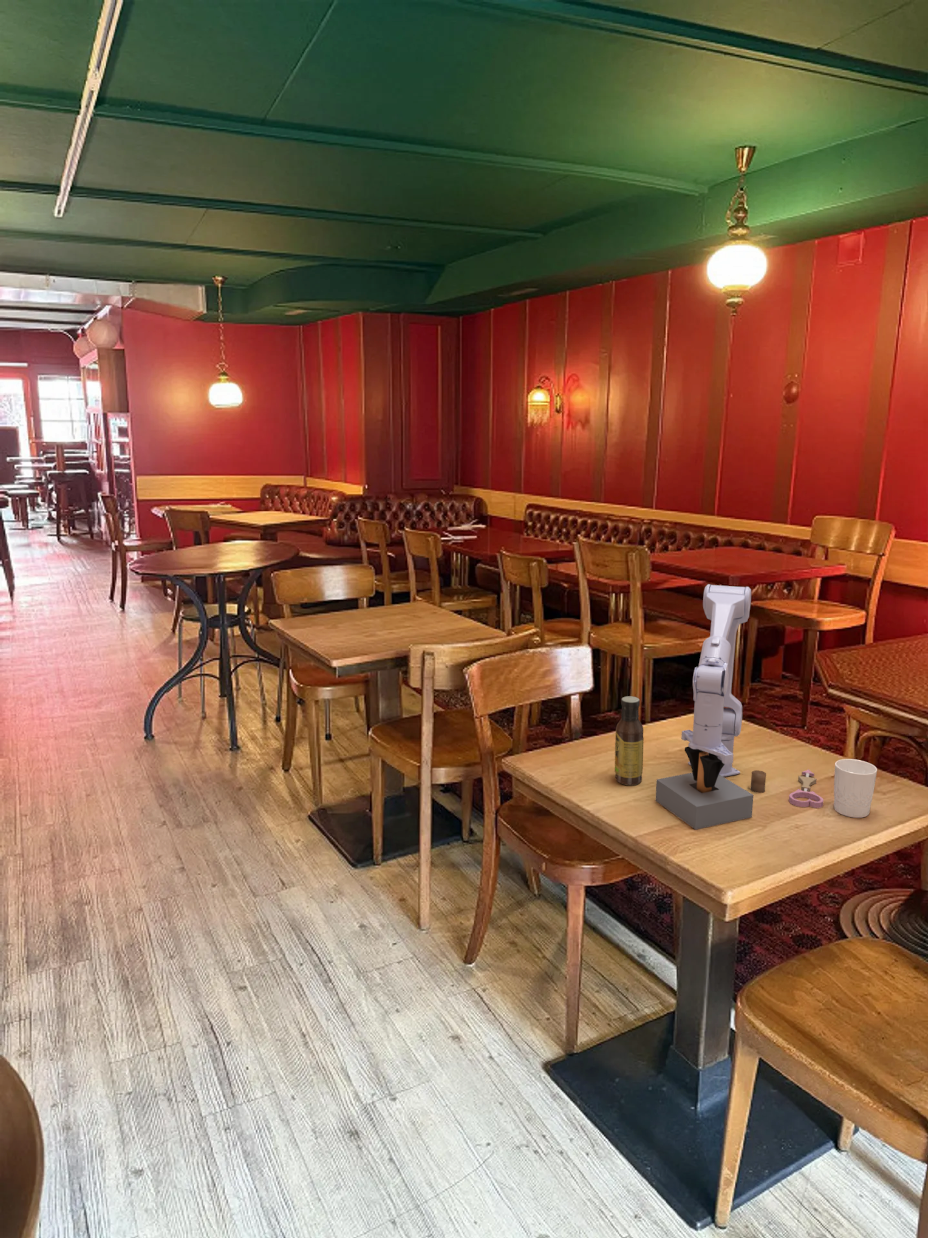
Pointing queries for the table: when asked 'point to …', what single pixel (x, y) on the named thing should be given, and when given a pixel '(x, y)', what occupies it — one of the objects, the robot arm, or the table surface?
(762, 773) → the short peg
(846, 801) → the white cup
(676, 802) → the bored block
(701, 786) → the long peg
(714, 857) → the table surface
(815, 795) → the decorative key
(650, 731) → the table surface
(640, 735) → the sauce bottle
